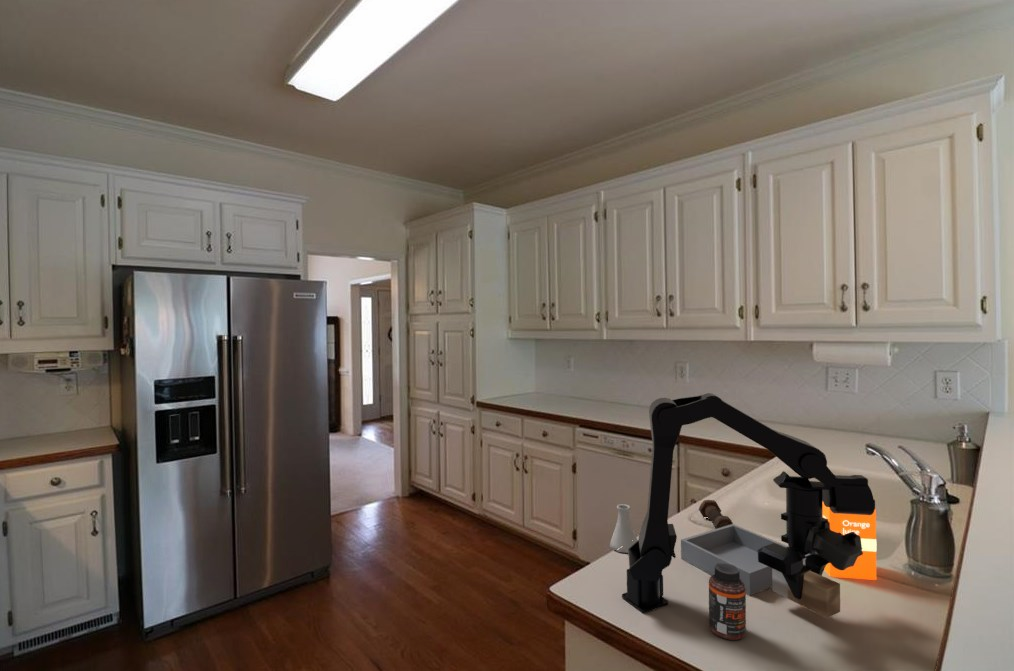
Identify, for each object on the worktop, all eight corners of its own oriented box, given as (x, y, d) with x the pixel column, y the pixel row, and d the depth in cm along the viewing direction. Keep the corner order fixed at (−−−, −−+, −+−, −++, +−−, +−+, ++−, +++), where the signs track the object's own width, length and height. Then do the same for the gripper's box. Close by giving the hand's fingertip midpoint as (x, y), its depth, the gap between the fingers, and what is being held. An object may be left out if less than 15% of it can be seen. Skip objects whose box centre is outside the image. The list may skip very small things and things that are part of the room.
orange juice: (814, 559, 111) (813, 472, 110) (858, 562, 109) (857, 473, 108) (830, 577, 103) (829, 483, 103) (877, 580, 101) (876, 485, 101)
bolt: (727, 548, 121) (706, 521, 136) (745, 538, 121) (721, 513, 136) (716, 528, 121) (695, 504, 136) (734, 518, 121) (711, 495, 136)
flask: (616, 538, 124) (615, 499, 124) (643, 545, 120) (643, 504, 120) (604, 549, 118) (603, 508, 118) (633, 556, 114) (632, 514, 114)
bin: (749, 595, 97) (749, 573, 96) (681, 558, 112) (680, 539, 112) (804, 573, 105) (803, 552, 104) (732, 541, 120) (732, 523, 120)
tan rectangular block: (826, 618, 84) (826, 589, 84) (772, 590, 93) (772, 564, 93) (840, 611, 86) (840, 583, 86) (785, 585, 95) (785, 559, 95)
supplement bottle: (728, 646, 82) (727, 579, 82) (701, 626, 87) (700, 563, 87) (754, 636, 84) (753, 571, 84) (726, 617, 90) (725, 556, 90)
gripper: (818, 538, 78) (819, 635, 78) (881, 515, 86) (882, 602, 87) (755, 515, 88) (756, 600, 88) (817, 496, 96) (818, 574, 97)
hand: (804, 595), depth 90 cm, fingers closed on tan rectangular block, 4 cm apart
